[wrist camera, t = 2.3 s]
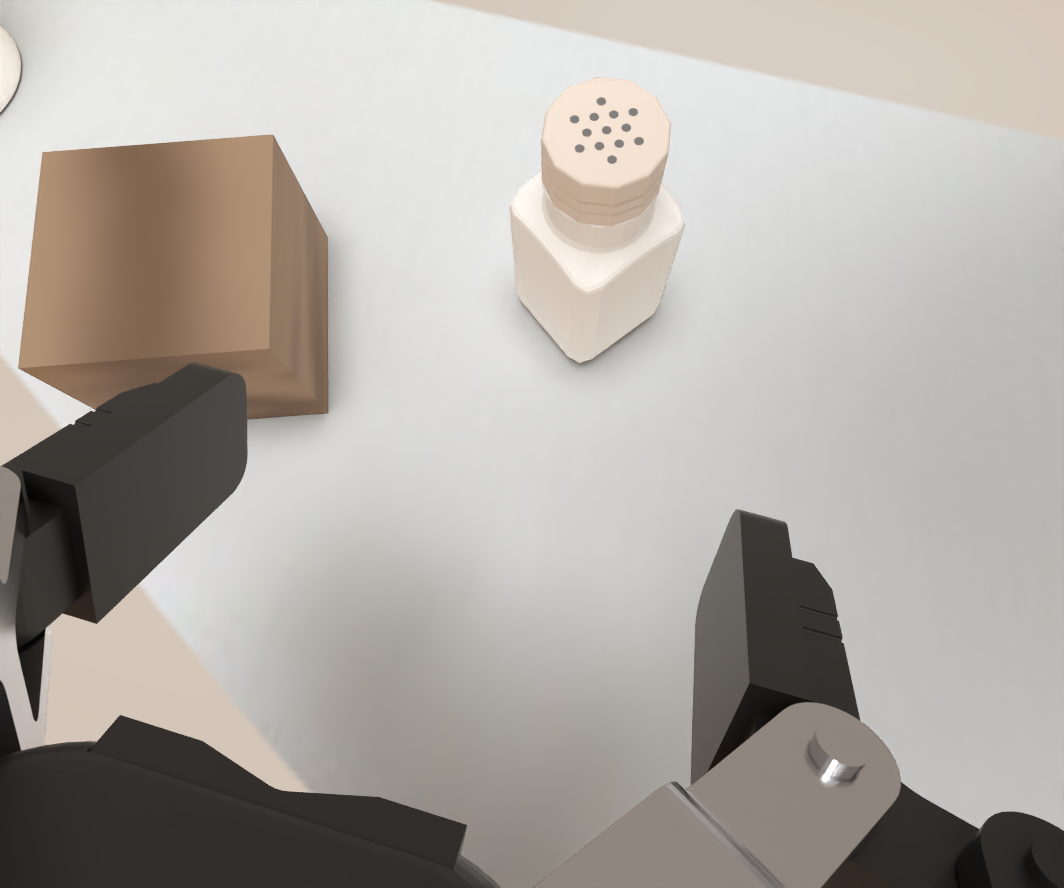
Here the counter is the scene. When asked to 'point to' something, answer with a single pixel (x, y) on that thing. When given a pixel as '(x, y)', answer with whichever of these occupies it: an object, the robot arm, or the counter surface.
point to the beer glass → (8, 68)
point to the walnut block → (178, 273)
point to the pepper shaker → (597, 217)
